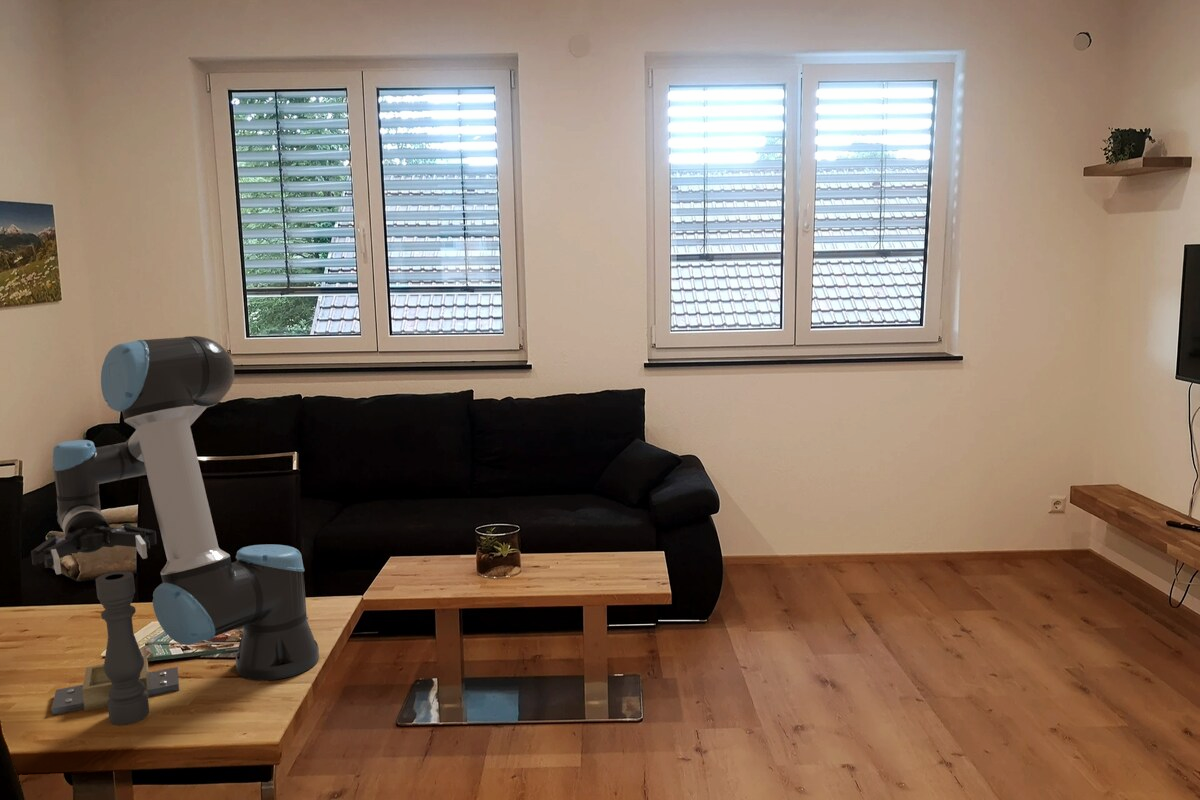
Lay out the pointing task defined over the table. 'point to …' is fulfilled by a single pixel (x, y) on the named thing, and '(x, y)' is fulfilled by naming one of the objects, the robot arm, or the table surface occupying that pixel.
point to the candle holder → (122, 649)
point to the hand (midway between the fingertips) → (102, 558)
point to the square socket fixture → (99, 685)
